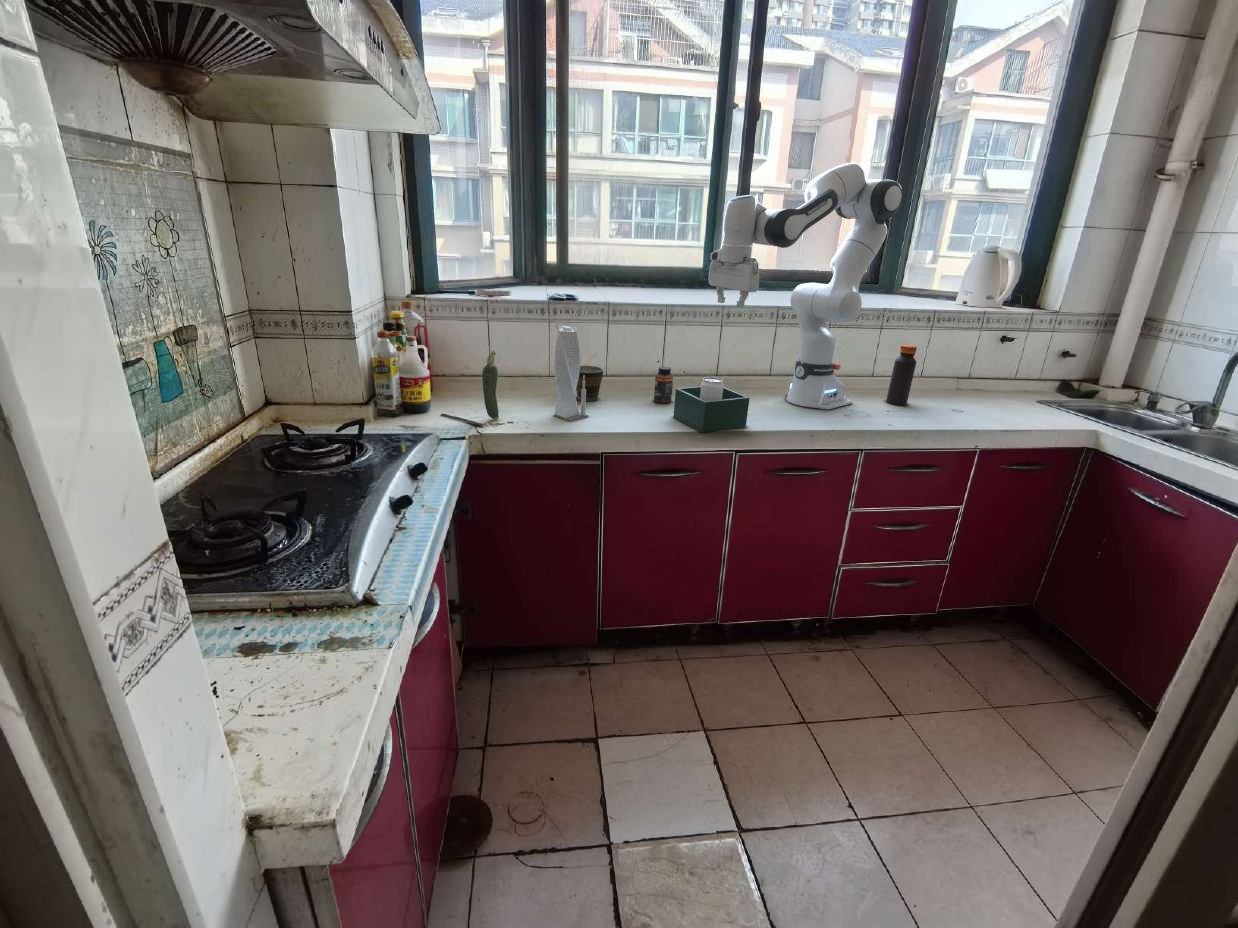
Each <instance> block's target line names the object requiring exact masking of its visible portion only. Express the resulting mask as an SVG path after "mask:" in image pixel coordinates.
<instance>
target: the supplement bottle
mask: <svg viewBox="0 0 1238 928" xmlns="http://www.w3.org/2000/svg"><path fill="white" fill-rule="evenodd" d="M671 372H672V368H671V367H670V366H659V367H658V372H657V373H656V374H655V376H654V391H653V393H654V394H653V401H654V402H656V403H658V404H669V403H671V402H672V400H673V388H674V387H673V386H674V375H673V374H672V373H671Z"/></svg>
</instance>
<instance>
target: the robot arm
mask: <svg viewBox="0 0 1238 928" xmlns="http://www.w3.org/2000/svg"><path fill="white" fill-rule="evenodd" d="M806 185H807V186H806V188H805V192H804V201H805V203H802V204H801V205H800V206H798V207H797V208H781V209H770V208H767V207H766V206H764V205H762V204H761V203H760V202H759V201H758V200H757V197H756V196H755V195H753V194H745V195H737V196H733V197H732V198H730V199H729V200H728V202H727V204H726V208H725V213H724V219H723V228H722V230H723V238H722V241H721V247H720V248H718V249H717V250H715V251H712V252H711V253H710V256H709V260H710V261H711V262H710V264H709V269H708V284H709V286H712V287H716V289H715V292H716V295H717V303H720V304H725V303H726V296H725V293H724V291H725V289H726V290H727V289H728V290H733V291H739V295H740V296H739V298H738V300H736V305H735V306H736V307H738V308H744V307H745V302H746V300H747V298H748V297H749V293H756V292H757V291H758V290H759V289H760V288H759V287H760V268H759V265H760V264H759V262H758V260H757V258H755V257H752V253H753V247H754V246H753V245H760V246H761V245H762V246H770V247H771V246H773V247H777V248H781V249H787V248H789V247H791V246H793V245H794V244H795V243H797V241H799V239H800V238H801V237H802V235H803V234H804V233H805V232H806V231H807V230H809V229H810V228H811V227H812V226H814V225H816V224H817V223H818V222H820V221H822V220H823V219H825V218H826V217H827V216H829V215H830V214H831V213H832V212H834V211H835V213H836V215H837V216H838V217H840V218H842V219H847V220H851V219H853V220H854V225H853V227H852V230H851V231H850V232H849V233H848V235H847V236H846V237H845V239H844V240H843V242H842V243H841V244H840V246H839V248H838V249H837V251H836V252H835V254H834V256H833V257H832V258H831V260H830V264H829V267H830V270H831V273H832V274H833V275H832V278H831V280H830V282H828V283H827V284H826V283H820V282H806V283H801V284H798V285H797V286H796V287H795V288H794V289H793V291H792V293H791V295H790V307H791V308H792V310H793V312H794V313H795V315H796V317H797V321H798V325H799V331H800V332H799V333H800V337H799V338H800V340H799V348H798V355H797V359H796V360H795V364H794V374H793V377H792V381H791V383H790V385H789V392H788V393H787V396H786V401H787V402H788V403H790V404H793V405H795V406H800V407H805V408H814V409H815V408H816V409H821V410H831V409H835V408H840V407H844V406H848V405H851V404H852V400H851V399H850V398H848V397H846V386H845V384H844V383H843V382H842V381H841V380H840V379H839V377H837V375H835V371H840V369H841V368H842V367H841V364H840V363H833V359H834V358H833V357H834V353H835V348H836V347H835V346H836V338H835V336H834V335H833V334H832V332H831V330H830V328H829V322H831V323H835V324H836V323H848V322H852V321H853V320H855V319H856V318H857V317H858V315H859V314H860V311H861V309H862V305H863V304H862V297H861V295H860V292H859V289H860V284H861V282H862V279H863V277H864V275H865V274H866V272H867V270H868V269H869V267H870V265H871V264H872V262H873V261H874V259H875V258H876V256H877V254H878V253H879V251H880V249H881V247H882V245H883V243H884V241H885V239H886V236H887V234H888V227H887V223H889V222H890V221H891V220H893V218H894V216H895V215H896V213H897V212H898V211H899V208H900V207H901V204H902V202H903V198H904V197H903V194H904V193H903V188H902V185H901V184H900V183H899V182H897V181H895V180H893V179H886V178H885V179H868V180H866V171H865V170H864V168H863V167H862V166H861V165H860V164H859V163H856V162H847V163H843V164H841V165H838V166H835V167H832V168H830V169H828V170H826V171H824V172H822V173H821V174H819V175H817V176H816V177H815V178H813V179H811V181H810V182H808V184H806Z"/></svg>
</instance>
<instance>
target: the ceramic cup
mask: <svg viewBox="0 0 1238 928" xmlns="http://www.w3.org/2000/svg"><path fill="white" fill-rule="evenodd" d="M583 375H585V378H584V381H585V389H586V402H595V401H597V400H598V399H599V392H600V390H601V389H600V388H601V384H602V381H603V375H604V368H603V367H600V366H597V365H580V372H579V378H578V383H577V387H576V390H575V391H576V396H577V397H576V398H577V400H578V401H581V389H582V388H583Z"/></svg>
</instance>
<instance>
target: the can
mask: <svg viewBox="0 0 1238 928" xmlns="http://www.w3.org/2000/svg"><path fill="white" fill-rule="evenodd" d="M700 386H701V392H700V399H702V400H704V401H716V400H722V393H723V387H724V383H723V379H722V378H719V377H714V376H713V377H712V376H707V377H704V378H703V377H702V381H701V384H700Z"/></svg>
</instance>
